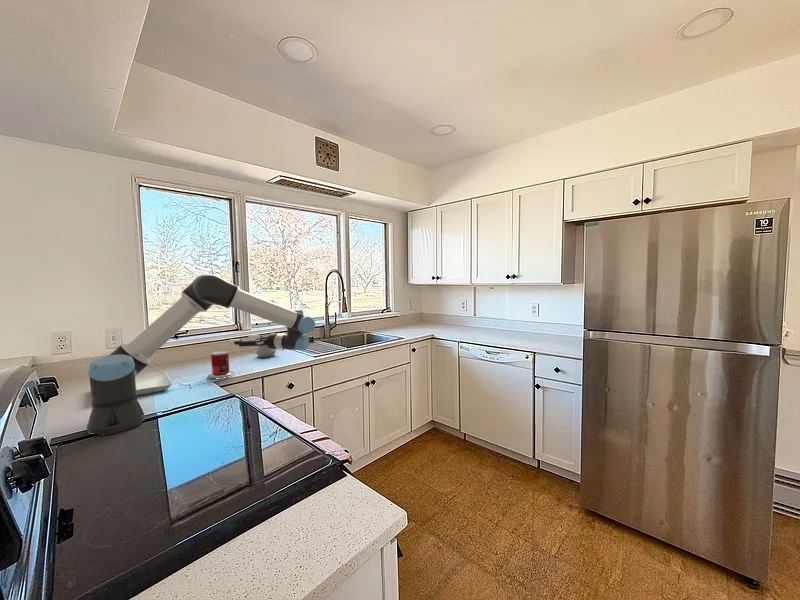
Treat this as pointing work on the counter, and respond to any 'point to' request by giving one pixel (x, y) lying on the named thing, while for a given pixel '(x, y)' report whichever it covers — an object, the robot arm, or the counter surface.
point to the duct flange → (220, 375)
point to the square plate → (151, 383)
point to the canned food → (220, 363)
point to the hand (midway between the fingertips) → (239, 339)
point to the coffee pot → (265, 351)
